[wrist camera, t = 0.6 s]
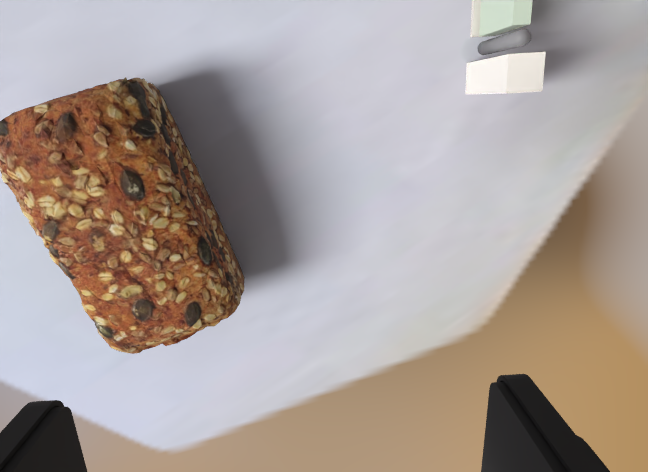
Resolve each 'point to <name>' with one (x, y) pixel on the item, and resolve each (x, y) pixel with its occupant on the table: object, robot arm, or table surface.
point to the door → (504, 24)
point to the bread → (123, 212)
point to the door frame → (503, 68)
